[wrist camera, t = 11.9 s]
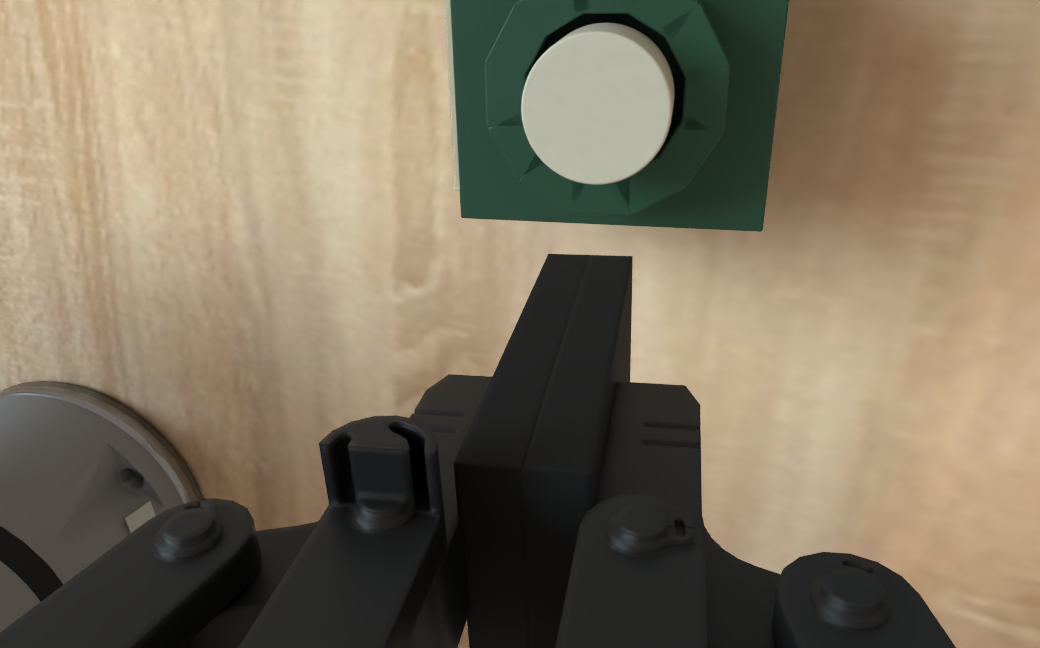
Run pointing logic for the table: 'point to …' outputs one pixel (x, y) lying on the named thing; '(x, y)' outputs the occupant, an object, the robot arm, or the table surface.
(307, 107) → the table surface
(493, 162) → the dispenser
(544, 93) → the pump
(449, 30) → the bottle label
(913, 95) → the table surface
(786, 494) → the table surface
